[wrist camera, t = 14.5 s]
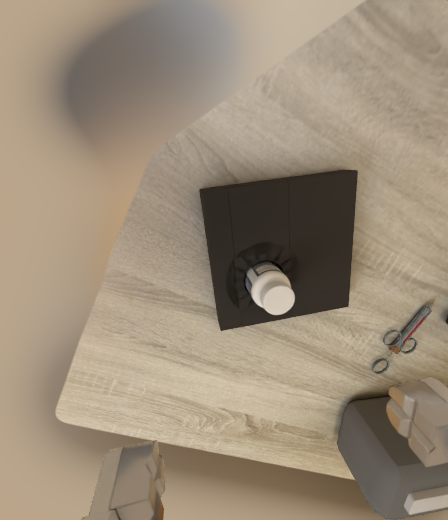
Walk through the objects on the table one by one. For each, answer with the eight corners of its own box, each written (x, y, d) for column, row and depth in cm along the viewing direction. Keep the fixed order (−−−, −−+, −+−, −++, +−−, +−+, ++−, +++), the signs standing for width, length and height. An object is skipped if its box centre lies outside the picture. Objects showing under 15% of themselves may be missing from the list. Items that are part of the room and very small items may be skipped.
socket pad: (218, 319, 41) (220, 331, 39) (199, 189, 34) (200, 191, 31) (337, 297, 43) (348, 306, 41) (344, 169, 36) (357, 170, 33)
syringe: (448, 300, 47) (457, 305, 46) (385, 375, 52) (392, 381, 50) (420, 284, 45) (429, 288, 44) (357, 363, 49) (363, 370, 48)
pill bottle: (262, 293, 41) (282, 326, 33) (234, 278, 39) (248, 309, 31) (282, 265, 40) (308, 293, 32) (254, 249, 38) (274, 273, 30)
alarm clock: (331, 436, 56) (384, 532, 41) (340, 395, 52) (402, 485, 37) (400, 426, 58) (472, 513, 44) (414, 386, 54) (499, 468, 40)
